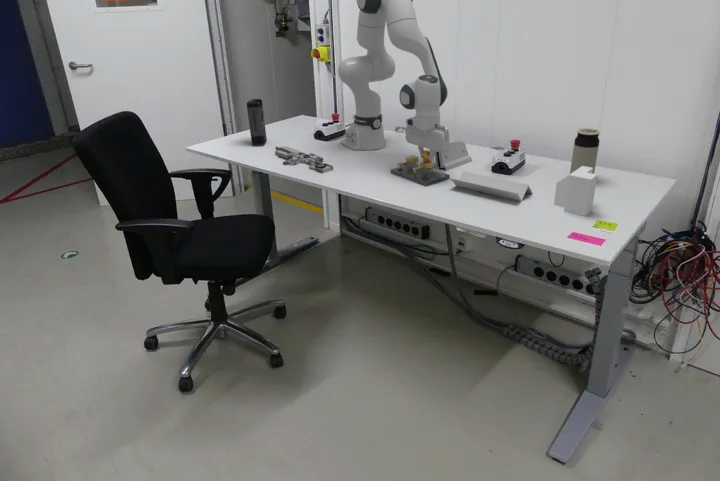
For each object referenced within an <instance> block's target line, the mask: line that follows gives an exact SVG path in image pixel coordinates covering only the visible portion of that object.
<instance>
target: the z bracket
mask: <svg viewBox="0 0 720 481" xmlns="http://www.w3.org/2000/svg"><path fill="white" fill-rule="evenodd" d="M449 180H451V181H452V183H453V184H454V185H455V187H459V188H462V189H466V190H472V191H475V192H478V193H479V192H480V193H485V194H490V195H492V196H496V197H501V198H505V199H509V200H514V201H518V202H522V201H523V200H524V197H525V194H526V193H527V194H532V195H533V194H534V193H533V190H532V189H531V187H530V185H529V184H526V183H520V182H517V181H512V180H506V179H501V178H498V177H492V176H489V175H488V176H487V175H483V174H480V173H474V172H471V171H470V172H469V171H466V170H462V172H461V174H460V177H459V178H455V177H454V178H453V177H450V179H449Z"/></svg>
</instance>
